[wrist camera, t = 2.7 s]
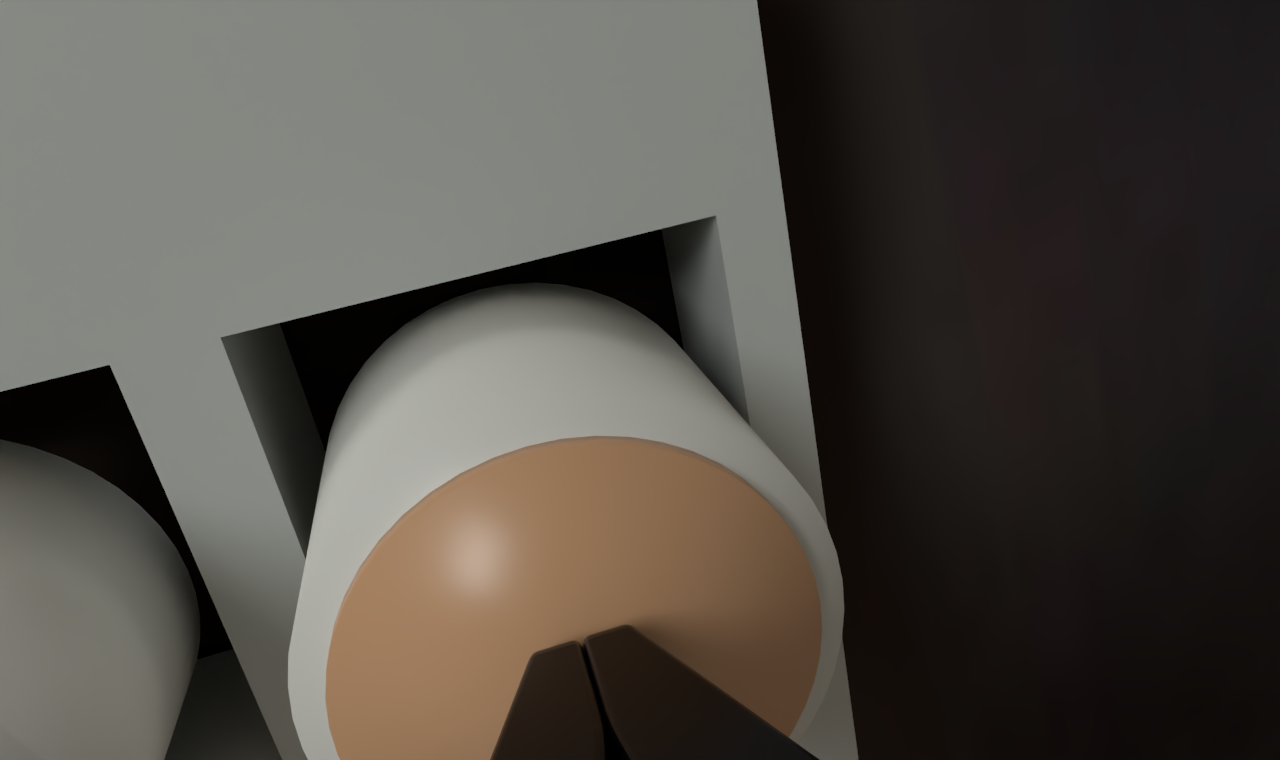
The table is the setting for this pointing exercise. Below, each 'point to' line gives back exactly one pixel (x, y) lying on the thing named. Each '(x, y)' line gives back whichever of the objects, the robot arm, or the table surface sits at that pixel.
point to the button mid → (87, 617)
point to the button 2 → (545, 529)
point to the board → (364, 239)
